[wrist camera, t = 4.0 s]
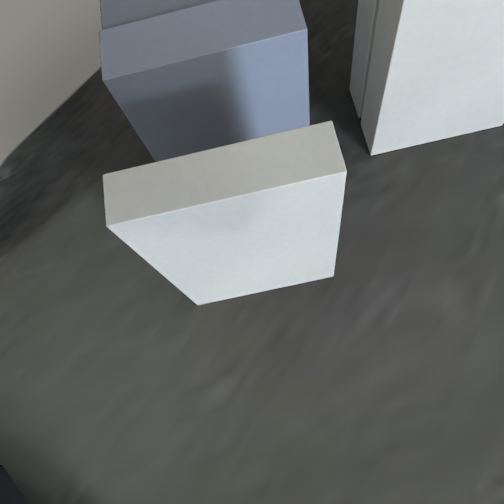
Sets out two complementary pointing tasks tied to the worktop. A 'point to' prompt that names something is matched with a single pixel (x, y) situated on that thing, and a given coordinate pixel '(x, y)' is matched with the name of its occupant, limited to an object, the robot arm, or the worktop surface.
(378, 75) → the white books
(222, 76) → the grey books
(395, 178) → the worktop surface
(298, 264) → the thin white book
